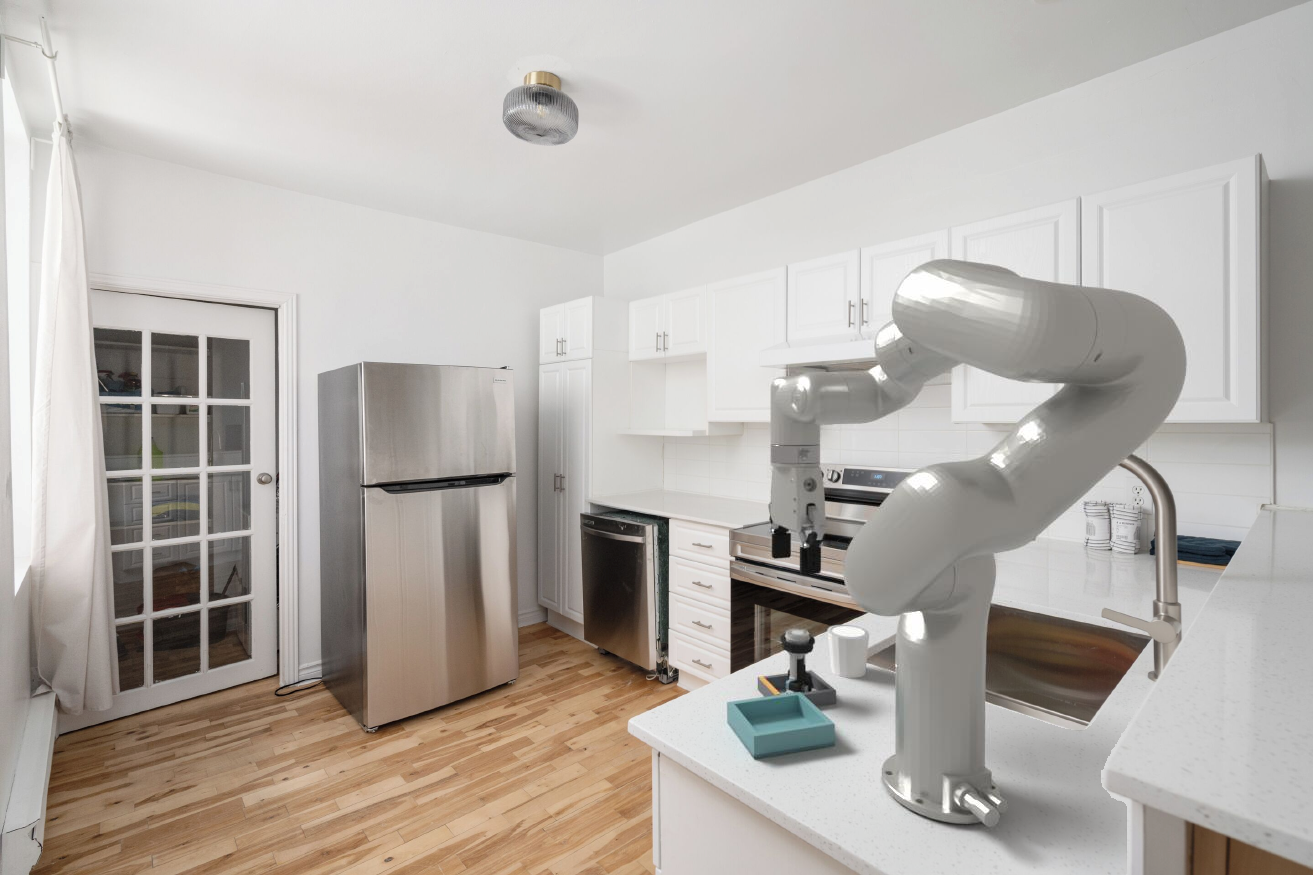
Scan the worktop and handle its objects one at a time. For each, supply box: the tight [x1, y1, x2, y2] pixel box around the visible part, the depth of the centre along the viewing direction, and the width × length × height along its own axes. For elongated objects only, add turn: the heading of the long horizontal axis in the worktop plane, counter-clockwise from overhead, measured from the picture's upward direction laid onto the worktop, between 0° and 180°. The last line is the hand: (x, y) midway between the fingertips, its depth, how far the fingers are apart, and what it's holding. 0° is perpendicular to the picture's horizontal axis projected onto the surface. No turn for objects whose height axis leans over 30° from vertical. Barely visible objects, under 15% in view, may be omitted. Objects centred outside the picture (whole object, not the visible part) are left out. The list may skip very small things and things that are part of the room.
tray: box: [726, 692, 836, 760], centre depth 84 cm, size 10×12×3 cm
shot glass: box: [827, 624, 870, 679], centre depth 104 cm, size 7×7×7 cm
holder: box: [757, 669, 837, 707], centre depth 95 cm, size 8×10×2 cm
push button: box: [779, 627, 816, 694], centre depth 94 cm, size 7×5×10 cm
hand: (795, 565), depth 94 cm, fingers open, 9 cm apart
